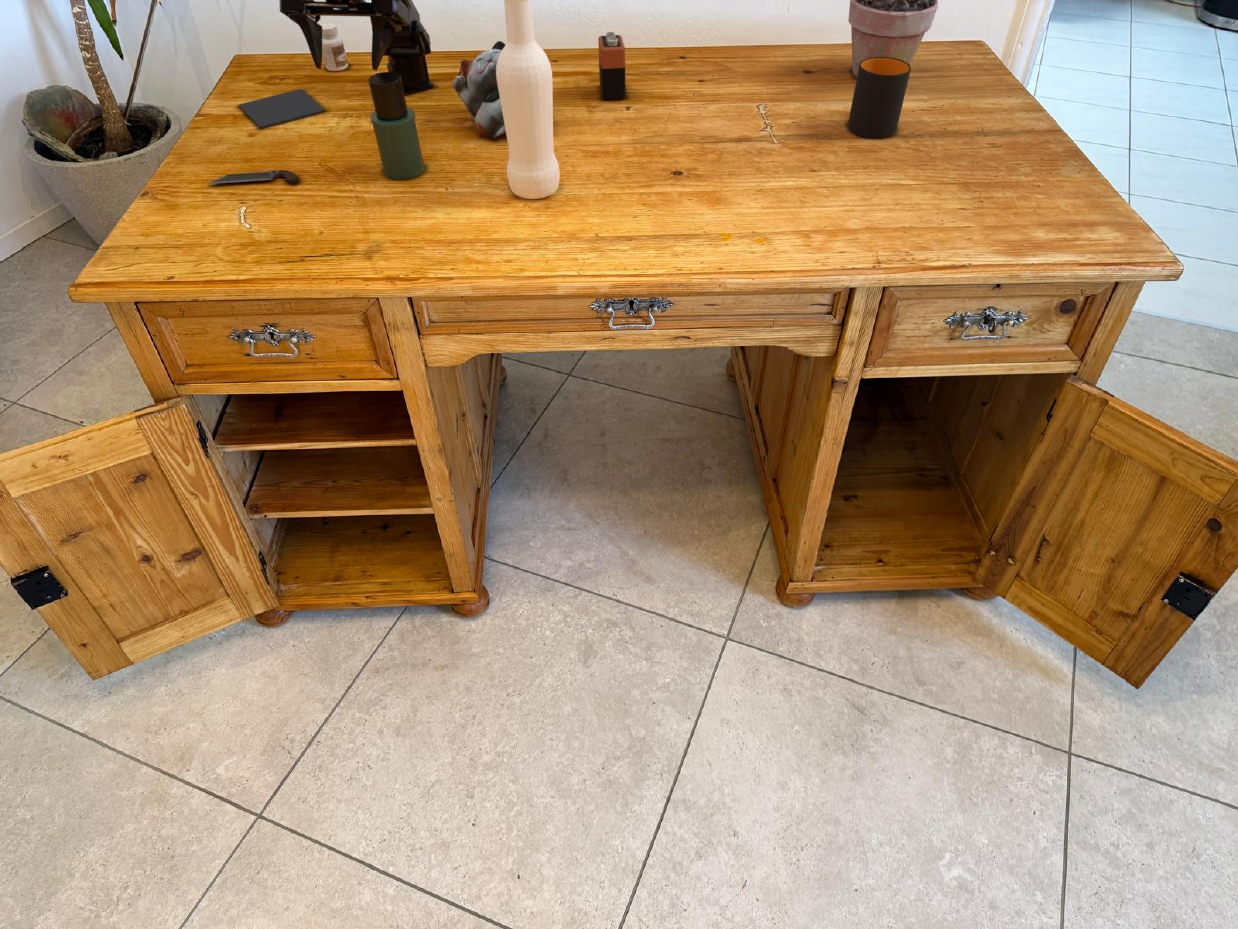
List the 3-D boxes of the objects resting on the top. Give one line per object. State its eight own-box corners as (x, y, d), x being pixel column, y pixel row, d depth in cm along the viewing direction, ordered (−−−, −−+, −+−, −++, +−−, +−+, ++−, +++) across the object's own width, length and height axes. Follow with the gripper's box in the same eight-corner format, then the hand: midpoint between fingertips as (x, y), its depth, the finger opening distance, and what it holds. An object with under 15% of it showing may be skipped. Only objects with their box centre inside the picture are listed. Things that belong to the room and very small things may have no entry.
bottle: (509, 177, 129) (484, -36, 108) (559, 174, 130) (545, -38, 108) (508, 202, 124) (482, -17, 102) (561, 199, 124) (546, -20, 103)
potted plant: (837, 49, 166) (862, -96, 147) (934, 64, 159) (972, -85, 141) (810, 81, 154) (834, -72, 136) (913, 98, 148) (952, -59, 130)
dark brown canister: (404, 109, 129) (395, 65, 124) (423, 124, 125) (414, 79, 120) (364, 120, 126) (354, 76, 122) (382, 135, 123) (372, 90, 118)
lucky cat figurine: (478, 146, 137) (440, 61, 131) (480, 144, 148) (445, 66, 142) (559, 110, 136) (524, 23, 131) (555, 111, 147) (522, 31, 142)
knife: (301, 171, 131) (300, 167, 131) (297, 183, 129) (296, 179, 128) (213, 177, 130) (211, 173, 130) (207, 189, 128) (205, 185, 127)
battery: (602, 100, 150) (600, 43, 142) (599, 86, 154) (597, 29, 147) (625, 99, 150) (625, 42, 143) (622, 85, 154) (621, 28, 147)
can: (413, 157, 135) (403, 106, 129) (430, 172, 131) (420, 120, 125) (378, 168, 132) (365, 116, 126) (394, 183, 129) (382, 130, 122)
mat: (301, 90, 155) (301, 88, 154) (324, 111, 148) (324, 109, 148) (239, 106, 150) (238, 104, 150) (260, 128, 143) (259, 126, 143)
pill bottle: (343, 72, 161) (332, 30, 155) (322, 70, 161) (311, 29, 156) (352, 64, 164) (342, 22, 158) (332, 62, 164) (321, 21, 159)
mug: (874, 107, 146) (887, 46, 138) (904, 135, 138) (920, 72, 130) (831, 112, 145) (842, 50, 137) (859, 140, 137) (872, 77, 129)
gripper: (258, -65, 117) (262, 52, 120) (383, -63, 115) (384, 55, 118) (295, -34, 128) (298, 72, 131) (410, -32, 126) (410, 75, 129)
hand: (346, 68), depth 127 cm, fingers open, 9 cm apart
